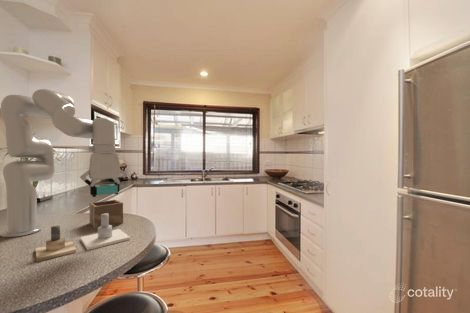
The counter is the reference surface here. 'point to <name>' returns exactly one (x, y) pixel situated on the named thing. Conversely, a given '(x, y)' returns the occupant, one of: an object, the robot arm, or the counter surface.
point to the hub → (104, 235)
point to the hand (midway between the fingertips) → (105, 194)
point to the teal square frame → (106, 189)
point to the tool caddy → (110, 207)
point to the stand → (55, 246)
